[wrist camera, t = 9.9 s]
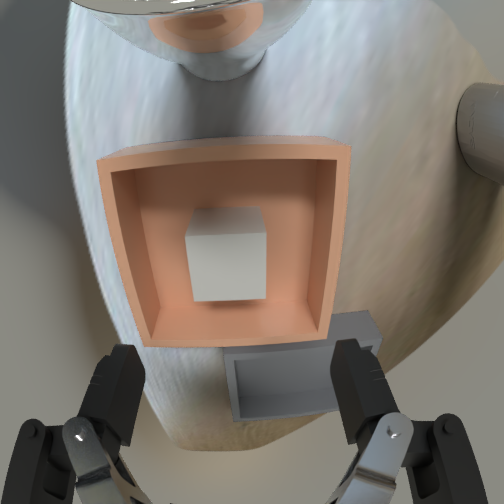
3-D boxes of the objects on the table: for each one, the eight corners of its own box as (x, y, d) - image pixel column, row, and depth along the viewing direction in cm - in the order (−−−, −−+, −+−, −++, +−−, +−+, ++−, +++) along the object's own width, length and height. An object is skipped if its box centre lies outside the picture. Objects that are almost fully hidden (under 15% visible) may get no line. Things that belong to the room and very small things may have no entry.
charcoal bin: (367, 310, 26) (383, 337, 23) (345, 382, 32) (353, 407, 29) (223, 322, 26) (223, 354, 22) (232, 394, 31) (233, 421, 28)
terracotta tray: (324, 136, 19) (351, 146, 14) (312, 299, 25) (326, 338, 21) (126, 147, 18) (96, 160, 14) (156, 307, 25) (144, 346, 20)
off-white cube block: (259, 205, 20) (266, 232, 16) (259, 262, 22) (265, 298, 18) (194, 208, 20) (184, 236, 16) (200, 265, 22) (194, 301, 18)
